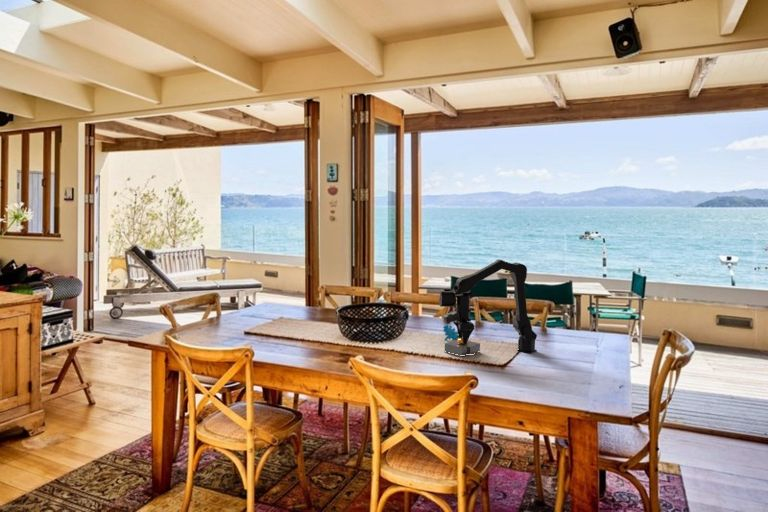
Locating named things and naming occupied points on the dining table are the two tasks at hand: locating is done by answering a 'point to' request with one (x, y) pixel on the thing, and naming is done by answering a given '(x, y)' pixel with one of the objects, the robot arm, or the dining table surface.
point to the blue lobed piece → (450, 333)
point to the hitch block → (462, 347)
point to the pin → (460, 341)
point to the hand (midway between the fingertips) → (462, 341)
